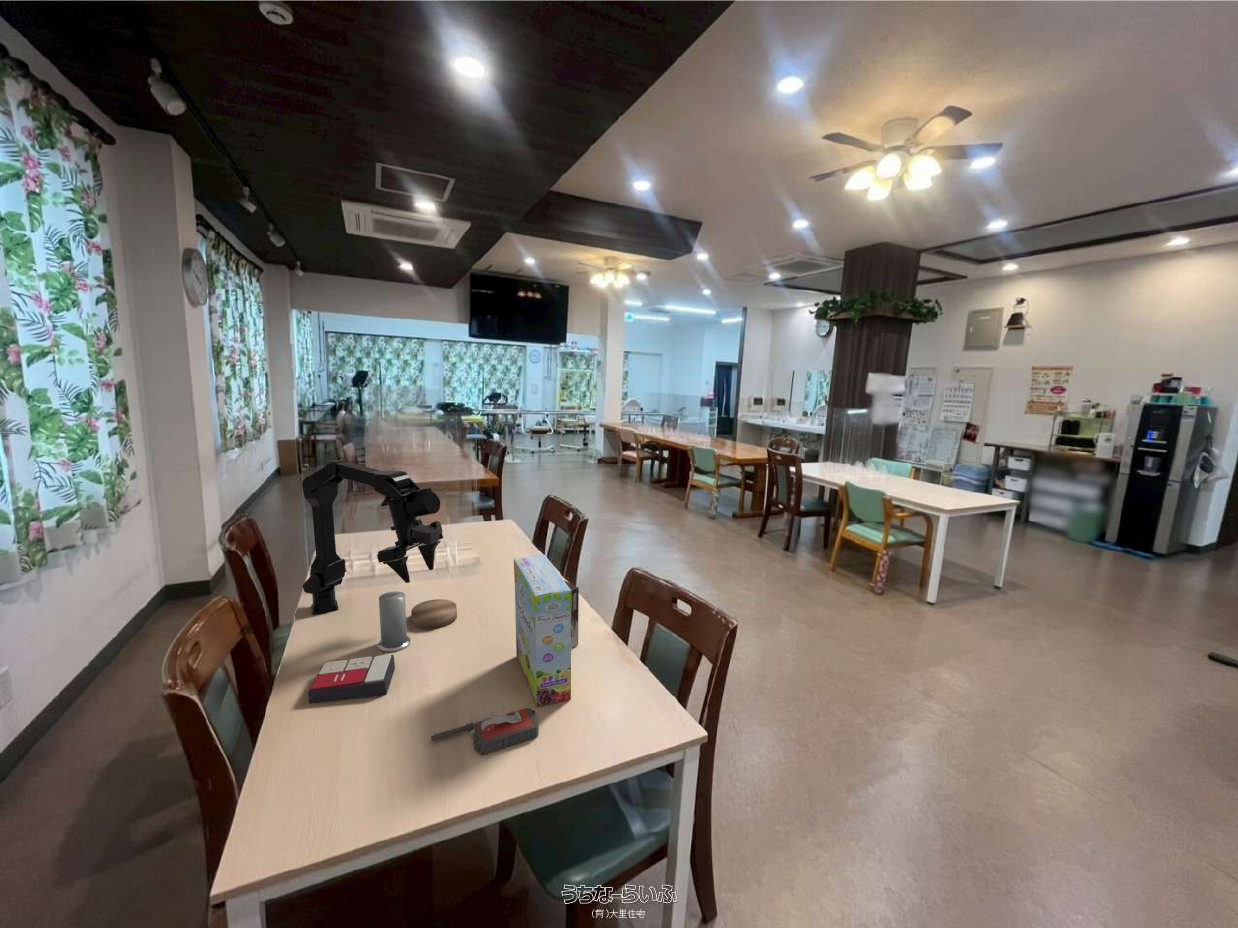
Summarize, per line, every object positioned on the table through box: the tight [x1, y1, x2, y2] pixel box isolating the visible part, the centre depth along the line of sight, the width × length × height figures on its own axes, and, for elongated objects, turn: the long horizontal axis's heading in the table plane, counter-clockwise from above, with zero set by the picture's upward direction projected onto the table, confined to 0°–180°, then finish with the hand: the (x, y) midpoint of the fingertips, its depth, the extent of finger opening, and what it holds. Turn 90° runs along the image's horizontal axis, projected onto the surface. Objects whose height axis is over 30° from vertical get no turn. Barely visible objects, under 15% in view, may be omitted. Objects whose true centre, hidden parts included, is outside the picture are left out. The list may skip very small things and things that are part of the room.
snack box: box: [513, 554, 572, 708], centre depth 117 cm, size 22×9×26 cm, turn 23°
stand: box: [410, 598, 458, 630], centre depth 144 cm, size 12×12×3 cm
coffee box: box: [563, 579, 580, 649], centre depth 131 cm, size 9×6×16 cm
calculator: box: [307, 654, 396, 704], centre depth 114 cm, size 11×4×15 cm
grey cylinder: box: [377, 591, 412, 653], centre depth 130 cm, size 8×8×13 cm
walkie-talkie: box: [430, 707, 540, 756], centre depth 99 cm, size 9×4×20 cm
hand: (420, 576), depth 136 cm, fingers open, 9 cm apart
